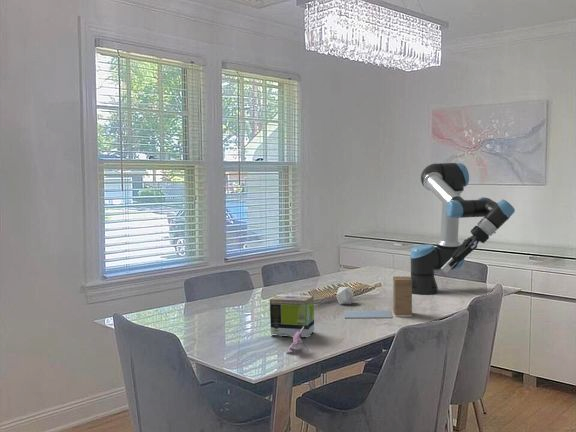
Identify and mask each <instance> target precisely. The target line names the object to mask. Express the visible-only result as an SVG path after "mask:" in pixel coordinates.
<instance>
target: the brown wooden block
mask: <svg viewBox="0 0 576 432" xmlns="http://www.w3.org/2000/svg"><path fill="white" fill-rule="evenodd" d="M410 277H411V275H410V276H409V275H407V276H405V275H404V276H401V275H400V276H392V293H393V296H392V297H393V298H392V302H393V305H392V306H393V310H392V311H393V315H394V317H397V318H398V317H399V318H401V317H403V318H404V317H405V318H407V317H408V318H409V317H413V298H412V297H413V293H412V279H411V278H410Z"/></svg>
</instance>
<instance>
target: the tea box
mask: <svg viewBox="0 0 576 432" xmlns="http://www.w3.org/2000/svg"><path fill="white" fill-rule="evenodd" d="M314 306H315V305H314V295H307V294H305V295H304V294H283V293H282V294H280V293H279V294H276V295H275V296H273V297H271V298H269V315H270V317H269V319H270V320H269V321H270V323H269V324H270V335H271V334H277V335H287V336H295V334H296V332H299V333H300V331H301V329H302V328H303V326H304V328H303V329H302V332H301V337H308V336H309V335H310V334H311V333H312V332H313V331H314V332H315V308H314ZM310 336H311V335H310ZM310 336H309V337H310ZM309 337H308V338H309Z"/></svg>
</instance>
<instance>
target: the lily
mask: <svg viewBox="0 0 576 432" xmlns="http://www.w3.org/2000/svg"><path fill="white" fill-rule="evenodd" d="M303 328H304V326H303ZM303 328H302V329H303ZM302 329H301V331H300V333H299V332H296V334H295V336H294V337H292V341H293V342H291V344H290V346H289V347H288V348H287V350H288V351H289V350H290V349H291V347H292V346H296V345H298V344H302V345H303V346H304V348H305V349H306V348H307V347H308V346H306V345H305V343H304V342H303V339H302V338H301V332H302ZM307 349H308V348H307Z"/></svg>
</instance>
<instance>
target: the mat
mask: <svg viewBox="0 0 576 432" xmlns="http://www.w3.org/2000/svg"><path fill="white" fill-rule="evenodd" d="M391 313H392V312H391V311H390V310H389V309H386V310H385V309H383V310H382V309H380V310H377V309H376V310H374V309H373V310H367V309H366V310H365V309H364V310H363V309H362V310H343V314H344V319H393V315H392V314H391Z"/></svg>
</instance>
